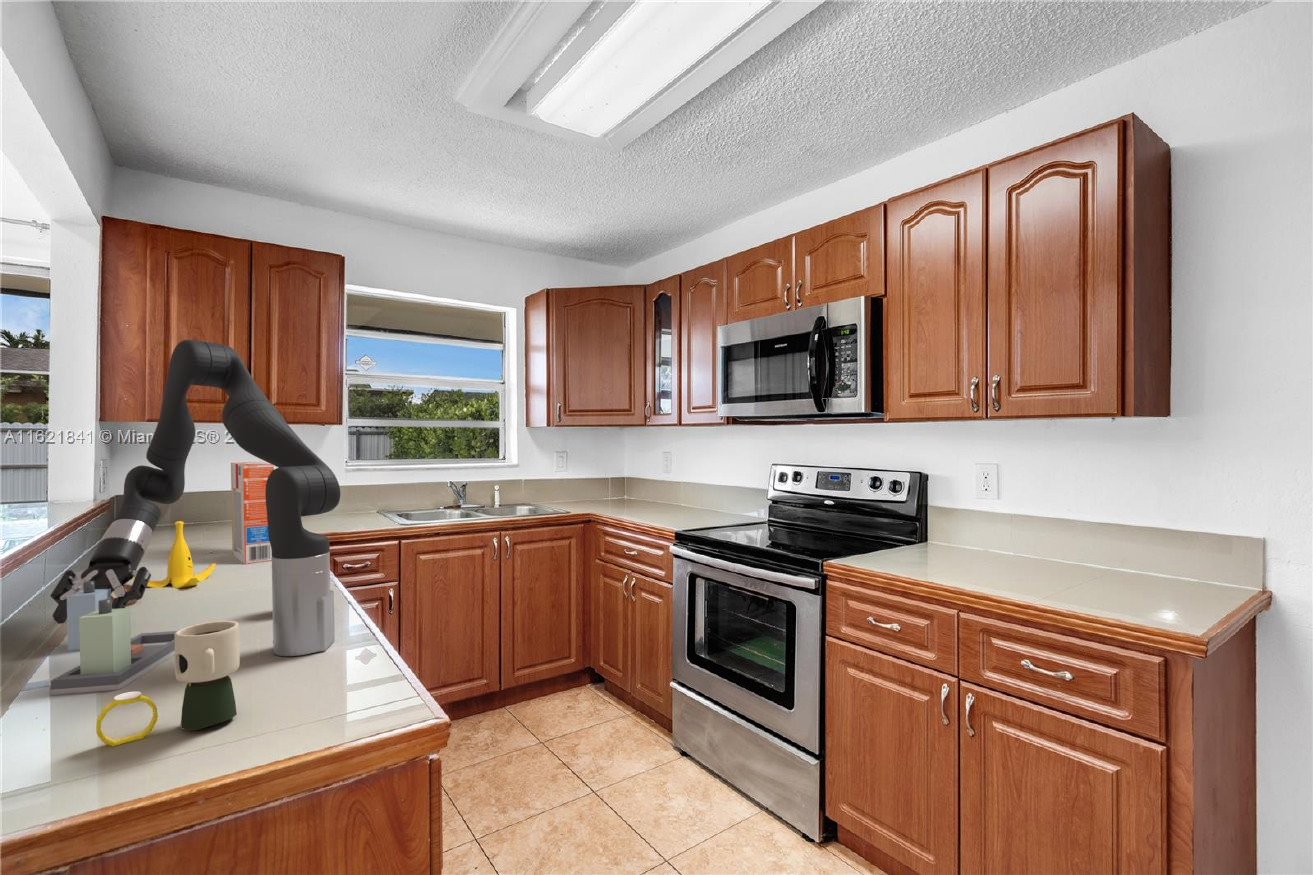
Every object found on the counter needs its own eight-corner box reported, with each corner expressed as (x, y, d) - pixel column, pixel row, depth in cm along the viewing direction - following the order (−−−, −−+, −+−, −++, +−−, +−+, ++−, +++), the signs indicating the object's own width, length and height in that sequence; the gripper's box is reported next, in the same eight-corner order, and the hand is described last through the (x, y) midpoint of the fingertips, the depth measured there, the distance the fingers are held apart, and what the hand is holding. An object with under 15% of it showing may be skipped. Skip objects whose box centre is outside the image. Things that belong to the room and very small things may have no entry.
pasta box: (275, 560, 197) (273, 464, 197) (244, 564, 192) (242, 465, 191) (261, 550, 214) (259, 461, 214) (232, 554, 209) (230, 462, 208)
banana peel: (217, 575, 178) (215, 515, 178) (196, 590, 161) (195, 524, 160) (144, 580, 172) (143, 519, 172) (115, 597, 154) (113, 529, 154)
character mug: (176, 716, 88) (174, 623, 88) (237, 703, 92) (236, 614, 92) (176, 747, 79) (174, 644, 79) (243, 730, 84) (241, 632, 84)
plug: (112, 640, 121) (110, 578, 121) (96, 648, 117) (94, 583, 117) (84, 642, 120) (83, 579, 120) (67, 650, 116) (66, 585, 116)
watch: (154, 732, 84) (157, 686, 85) (156, 739, 82) (160, 693, 83) (94, 744, 80) (98, 696, 80) (95, 752, 78) (99, 703, 78)
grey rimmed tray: (195, 641, 120) (195, 625, 120) (119, 689, 98) (118, 670, 98) (141, 645, 119) (141, 629, 119) (50, 695, 96) (50, 675, 96)
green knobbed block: (131, 668, 104) (129, 595, 104) (113, 678, 100) (112, 603, 100) (99, 670, 104) (98, 597, 103) (80, 681, 99) (78, 604, 99)
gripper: (72, 537, 124) (28, 612, 113) (154, 534, 127) (119, 607, 116) (91, 559, 130) (50, 632, 119) (170, 555, 132) (137, 627, 121)
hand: (84, 620), depth 117 cm, fingers open, 8 cm apart
